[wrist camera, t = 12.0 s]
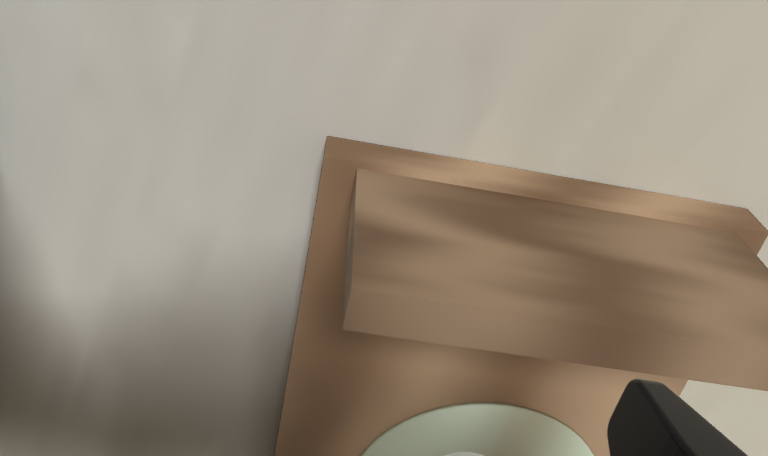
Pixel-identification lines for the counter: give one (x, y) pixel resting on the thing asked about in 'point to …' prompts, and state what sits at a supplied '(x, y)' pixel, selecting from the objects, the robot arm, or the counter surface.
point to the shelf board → (507, 307)
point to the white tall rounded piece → (464, 454)
